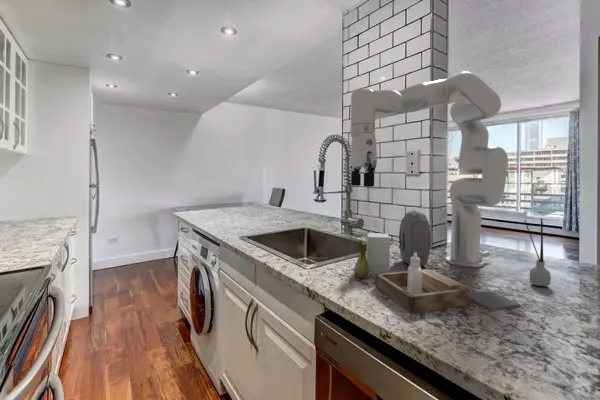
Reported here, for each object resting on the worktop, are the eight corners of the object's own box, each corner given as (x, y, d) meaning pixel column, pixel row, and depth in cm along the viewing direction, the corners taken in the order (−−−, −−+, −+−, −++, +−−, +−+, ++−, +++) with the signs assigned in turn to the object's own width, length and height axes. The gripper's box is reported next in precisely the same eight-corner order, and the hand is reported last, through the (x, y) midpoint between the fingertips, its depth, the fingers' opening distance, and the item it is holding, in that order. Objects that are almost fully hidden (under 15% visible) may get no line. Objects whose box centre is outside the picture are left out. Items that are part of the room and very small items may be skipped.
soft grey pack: (432, 270, 104) (433, 212, 102) (408, 270, 103) (409, 213, 102) (413, 258, 119) (414, 208, 117) (392, 258, 119) (393, 208, 117)
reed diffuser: (550, 292, 84) (555, 221, 82) (520, 287, 88) (523, 219, 86) (549, 282, 92) (553, 217, 90) (521, 277, 96) (524, 215, 94)
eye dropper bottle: (403, 297, 81) (404, 254, 80) (409, 291, 85) (410, 249, 84) (419, 301, 78) (421, 256, 77) (425, 294, 83) (426, 252, 82)
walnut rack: (425, 281, 93) (426, 269, 92) (470, 305, 76) (470, 289, 76) (375, 287, 88) (375, 274, 88) (410, 313, 72) (410, 297, 72)
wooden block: (430, 284, 91) (430, 269, 90) (463, 301, 78) (464, 284, 78) (417, 285, 90) (417, 270, 89) (449, 303, 77) (449, 286, 77)
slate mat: (489, 292, 84) (489, 290, 84) (520, 306, 75) (520, 304, 75) (462, 296, 82) (462, 294, 82) (490, 310, 73) (491, 308, 73)
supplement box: (389, 275, 99) (390, 237, 98) (366, 274, 101) (367, 236, 99) (387, 268, 106) (388, 233, 105) (366, 267, 108) (366, 232, 107)
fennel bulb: (366, 281, 94) (366, 243, 93) (351, 278, 96) (351, 241, 95) (371, 275, 99) (371, 239, 98) (356, 273, 101) (357, 238, 100)
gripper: (387, 127, 87) (386, 186, 88) (362, 135, 103) (361, 185, 105) (363, 126, 85) (362, 187, 86) (341, 134, 102) (341, 185, 103)
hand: (362, 185), depth 95 cm, fingers open, 9 cm apart
